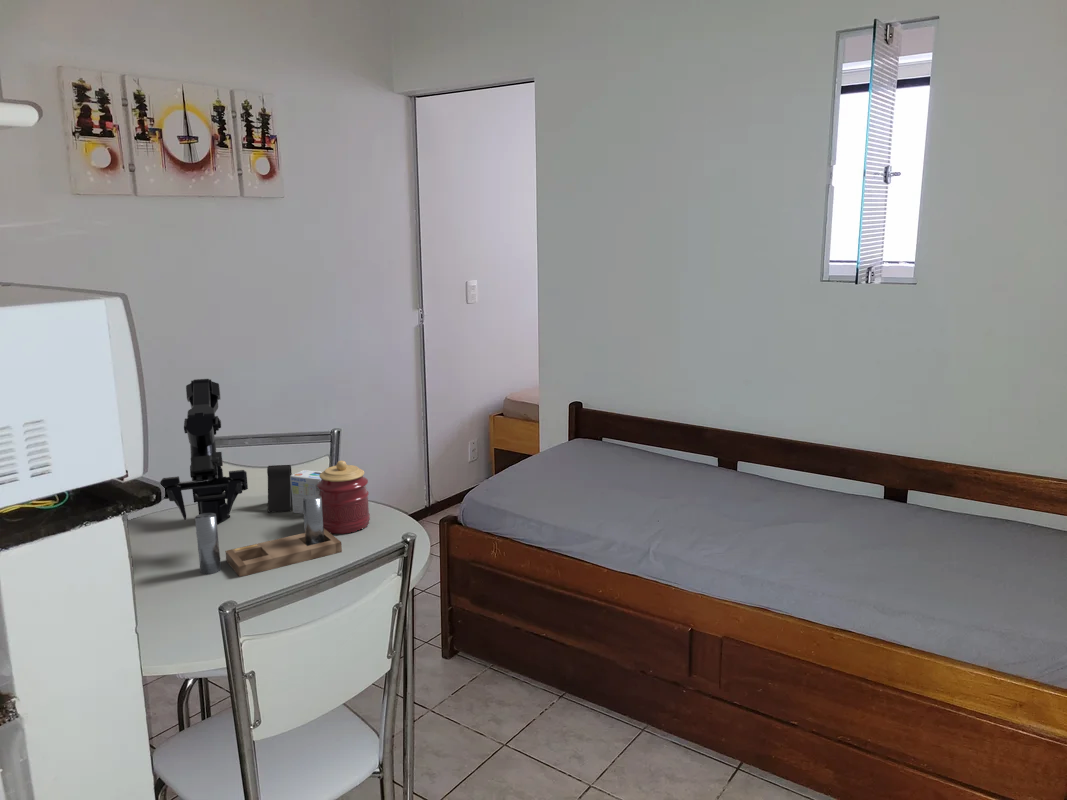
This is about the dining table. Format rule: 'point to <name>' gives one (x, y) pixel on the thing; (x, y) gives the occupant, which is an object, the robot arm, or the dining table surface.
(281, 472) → the phone stand
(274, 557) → the wooden slotted holder
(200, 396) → the robot arm
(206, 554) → the cylinder
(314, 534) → the cylinder
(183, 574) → the dining table surface
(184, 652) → the dining table surface
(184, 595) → the dining table surface
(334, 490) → the canister
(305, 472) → the light bulb box
